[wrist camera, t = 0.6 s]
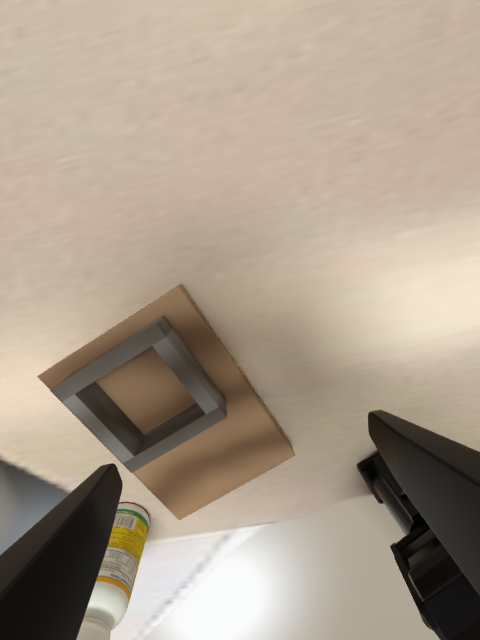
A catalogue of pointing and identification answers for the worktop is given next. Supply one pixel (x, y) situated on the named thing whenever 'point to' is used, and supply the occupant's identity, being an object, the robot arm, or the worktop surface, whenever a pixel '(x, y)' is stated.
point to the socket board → (171, 405)
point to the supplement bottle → (116, 573)
